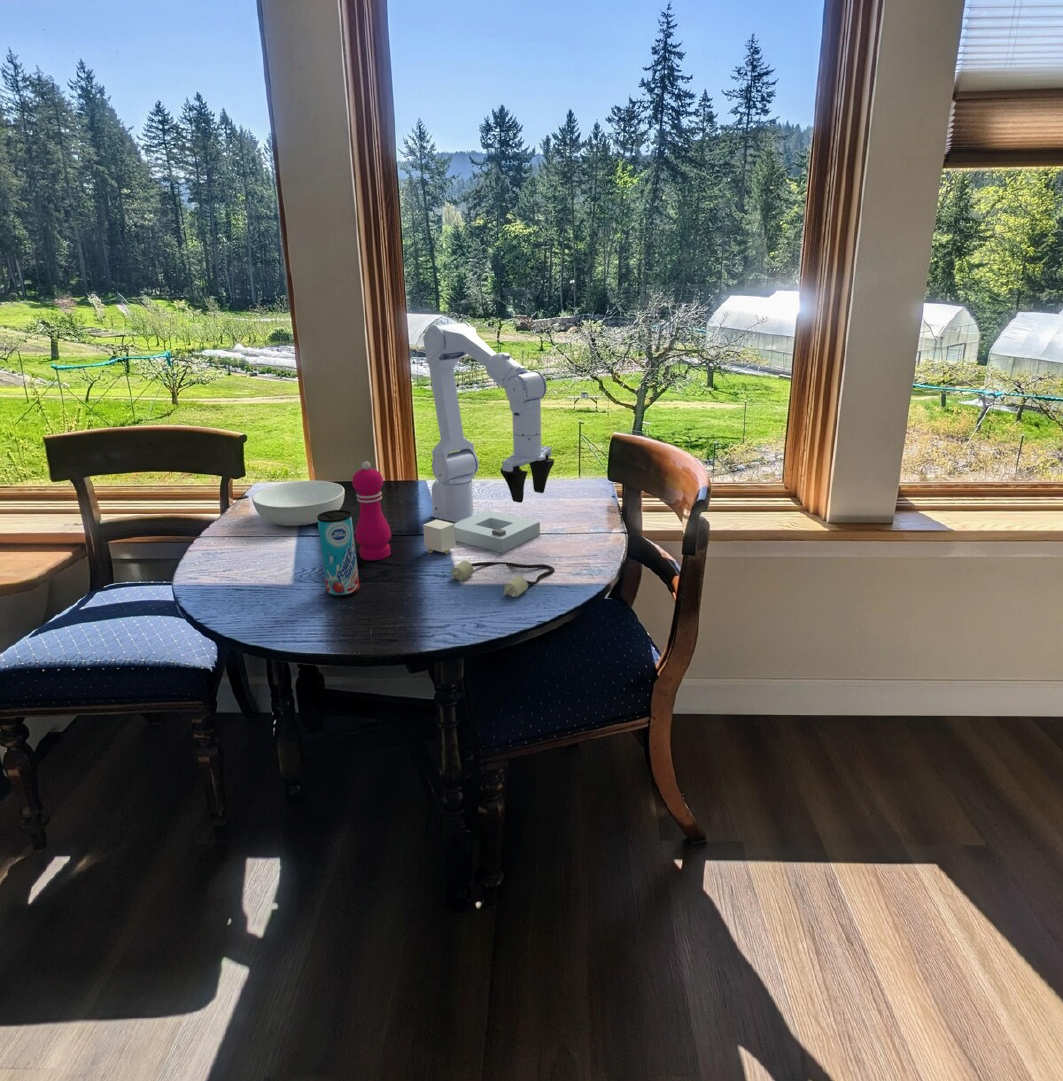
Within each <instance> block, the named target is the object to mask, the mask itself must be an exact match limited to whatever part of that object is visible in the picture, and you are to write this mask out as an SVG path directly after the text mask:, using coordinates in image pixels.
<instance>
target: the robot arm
mask: <svg viewBox="0 0 1063 1081" xmlns="http://www.w3.org/2000/svg"><path fill="white" fill-rule="evenodd" d="M477 333H478V332H477V329H476V328H475V327H474V326H472V325H471V324H470V323H469V322H466V321H462V322H459V323H449V324H439V325H437V324H432V325H430V326H428V328H427V329H426V331H425V333H424V335H423V336H422V340H423V345H424V351H425V352H424V353H425V358H426V364H427V365H428V368H429V369H428V370H429V375H430V381H431V387H432V393H433V400H434V405H435V406H434V407H435V413H436V419H437V426H438V430H439V431H438V432H439V437H440V441H439V442H438V443H437V444H436V445H435V447H434V448H433V449H432V450H431V455H432V461H431V462H432V463H431V470H432V473H433V476H434V478H435V480H434V482H433V483H432V486H431V500H432V501H431V502H432V503H431V504H432V513H430V517H432V518H435V519H439V520H443V521H444V520H445V521H447V522H451V523H457V522H459V521H462V520H464V519H467V518H469V517H471V516H474V515H476V514H479V513H481V512H480V511H478V510H474V495H473V494H474V493H473V480H474V479H475V474H477V472H478V471H479V465H480V462H479V457H478V455H477V454H476V451H475V448H474V447H475V446H474V444H473V443H472V442H471V441H469V440H468V439H467V438H465V435H464V431H463V430H464V429H463V424H462V417H461V416H462V415H461V410H460V404H459V397H458V390H457V383H456V377H455V370H454V368H455V367H456V365H457V363H458V362H459V361H460V360H461V359H462V358H464V357H465V356H466V355H468V356H469V357H471V358H472V359H473V360H475V361H477V363H480V364H481V365H483V366H484V367H485V370H486V374H487V376H488V377H489V378H490V379H492V380H493V381H494V382H495V383H497V384H498V386H500V387H501V388H503V389H504V390H505V396H506V398H507V399H508V403H509V409H510V411H511V413H512V438H513V439H512V440H513V442H512V443H513V444H512V445H513V453H512V454H511V455H510V456H509V457H508V458H506V459H504V460H502V461H501V468H500V474H501V476H502V477H503V478H504V480H505V482H506V485H507V486H508V489H509V492H510V496H511V500H512V502H515V503H519V504H520V503H523V501H524V495H525V494H524V493H525V483H526V479H527V476H528V473H529V472H528V471H527V470H523V469H522V468H521V467H522V466H526V465H527V464H528V465H529V467H530V470H531V476H532V487H533V491H534V493H539V494H544V493H545V489H546V485H547V482H548V478H549V474H550V472H551V469H552V467H553V466H554V464H555V459H554V458H552V456H553V455H552V450H553V449H552V447H550V446H542V417H541V416H542V413H541V412H542V411H541V410H542V409H541V402H542V401H541V400H542V399H544V398H545V396H546V394H547V388H548V387H547V382H546V379H545V377H544V376H543V374H541V372H540V371H539V370H531V371H530V370H527V369H526V367H525V366H524V365H521V364H520V363H518V362H517V361H516V360H515V359H513V358H512V355H511V354H510V353H509V352H498V353H497V352H496V351H494V350H493V349H492V348H491V347H490V346H489V345H488V344H487V343H486V342H485V341H484V340H483V339H482V338H481V337H479V335H478V334H477ZM550 457H551V458H550Z"/></svg>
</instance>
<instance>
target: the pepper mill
mask: <svg viewBox="0 0 1063 1081" xmlns="http://www.w3.org/2000/svg"><path fill="white" fill-rule="evenodd" d="M371 465H372V464H371V463H370V462H369V461H367V460H366V461H363V462H362V463H361V468H362V469H359V470H357V471H356V472H355V473H354V475H353V476H352V487H353V489H354V490H355V491H356V492H357V493H356V501H357V502H358V503H359V509H360V510H359V519H358V521H357V525H356V529H355V540H356V542H357V544H359V545H360V547H359V556H360V558H361V559H362V560H366V561H380V560H383V559H386V558H388V557H389V556H391V546H390V544H389V542H390V540H391V538H392V532H391V527H390V525H389V523H388V521H387V518H386V517H385V516H384V514H383V511H382V506H381V500H382V499H383V496H382V493H383V492H382V491H381V489H382V488H383V485H384V479H383V475H382V474H381V473H380V471H378V470H377V469H375V468H371Z"/></svg>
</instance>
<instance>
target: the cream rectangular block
mask: <svg viewBox="0 0 1063 1081" xmlns="http://www.w3.org/2000/svg"><path fill="white" fill-rule="evenodd" d="M422 526H423V527H422V528H423V540H424V548H425V549H426V550H427V553H429V554H430V553H431V554H433V552H434V551H437V552H440V553H444V554H445V555H447V554H450V552H451V551H450V550H451V549H454V548H455V547H456V541H455V529H454V522H450V521H446V520H445V521H444V520H442V519H438V518H435V519H434V520H431V521H429V522H427V523H425V524H423V525H422Z"/></svg>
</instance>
